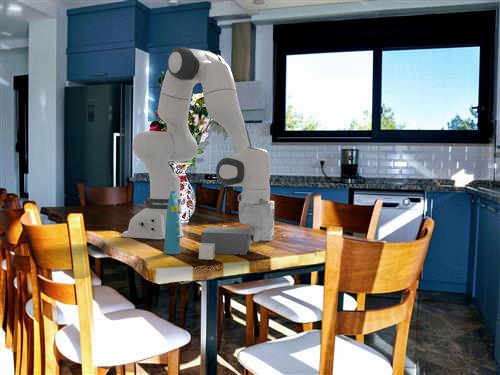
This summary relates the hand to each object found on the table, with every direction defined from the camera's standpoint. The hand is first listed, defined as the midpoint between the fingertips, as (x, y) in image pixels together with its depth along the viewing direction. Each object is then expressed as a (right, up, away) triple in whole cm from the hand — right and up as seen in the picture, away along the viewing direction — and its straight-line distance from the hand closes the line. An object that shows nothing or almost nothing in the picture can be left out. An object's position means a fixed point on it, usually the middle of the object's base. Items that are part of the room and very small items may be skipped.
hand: (254, 240), depth 146 cm
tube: (-25, -3, -7) cm, 26 cm away
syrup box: (+4, -3, +24) cm, 24 cm away
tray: (-8, -2, 0) cm, 8 cm away
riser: (-14, -3, -13) cm, 20 cm away
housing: (-9, -3, +1) cm, 10 cm away
